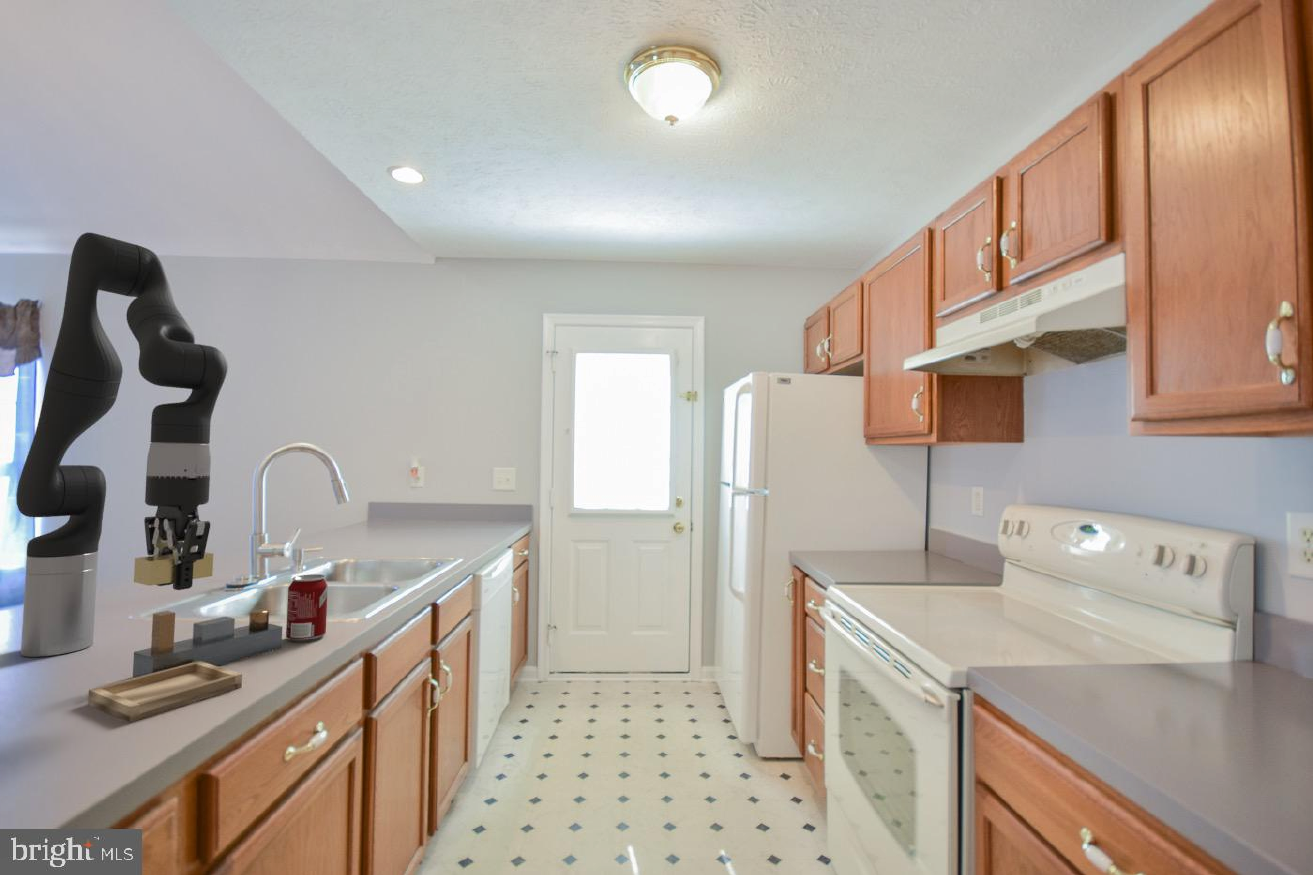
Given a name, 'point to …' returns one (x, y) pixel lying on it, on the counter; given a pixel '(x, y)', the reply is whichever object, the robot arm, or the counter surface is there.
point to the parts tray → (163, 690)
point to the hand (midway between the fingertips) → (173, 586)
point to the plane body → (206, 642)
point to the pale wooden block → (167, 569)
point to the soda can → (306, 608)
